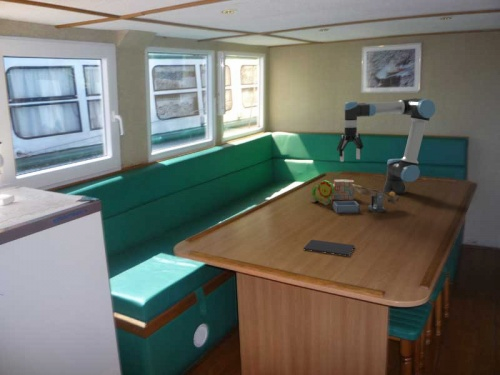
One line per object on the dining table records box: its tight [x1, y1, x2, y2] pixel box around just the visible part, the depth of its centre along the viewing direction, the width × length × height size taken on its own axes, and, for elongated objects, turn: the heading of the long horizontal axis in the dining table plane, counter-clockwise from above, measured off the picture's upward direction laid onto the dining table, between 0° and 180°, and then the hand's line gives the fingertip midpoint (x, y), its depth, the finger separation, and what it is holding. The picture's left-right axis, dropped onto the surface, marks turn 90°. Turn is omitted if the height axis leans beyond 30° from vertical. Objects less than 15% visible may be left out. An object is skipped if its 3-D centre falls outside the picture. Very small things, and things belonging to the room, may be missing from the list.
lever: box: [352, 183, 400, 205], centre depth 278 cm, size 24×17×5 cm
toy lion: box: [310, 179, 334, 206], centre depth 289 cm, size 16×5×15 cm, turn 47°
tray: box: [332, 200, 361, 214], centre depth 273 cm, size 14×10×4 cm
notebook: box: [303, 239, 356, 257], centre depth 213 cm, size 13×2×21 cm
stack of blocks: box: [330, 179, 355, 201], centre depth 301 cm, size 21×6×12 cm, turn 85°
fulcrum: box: [367, 193, 387, 213], centre depth 274 cm, size 8×11×11 cm
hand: (350, 160), depth 290 cm, fingers open, 13 cm apart
